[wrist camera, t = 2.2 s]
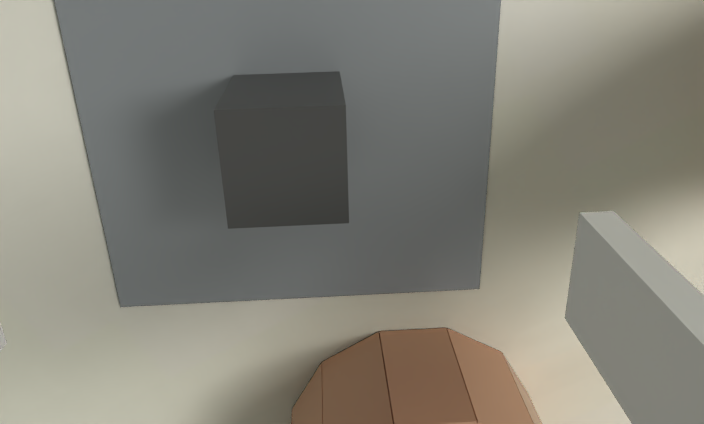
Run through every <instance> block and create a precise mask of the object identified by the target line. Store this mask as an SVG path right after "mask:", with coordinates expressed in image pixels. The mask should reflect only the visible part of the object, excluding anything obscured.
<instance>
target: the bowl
mask: <svg viewBox="0 0 704 424" xmlns="http://www.w3.org/2000/svg"><path fill="white" fill-rule="evenodd" d="M291 424H542V422H541V420H540V418H539V416H538V413H537V411H536V409H535V407H534V405H533V403H532V400H531V398H530V396H529V394H528V393H527V391H526V389H525V388H524V386H523V385H522V383H521V381H520V380H519V378H518V377H517V375H516V374H515V372H514V370H513V369H512V367H511V366H510V364H509V362H508V361H507V359H506V358H505V356H504V355H503V353H502V352H501V351H498V350H496V349H494V348H491V347H489V346H487V345H485V344H482V343H480V342H478V341H475V340H473V339H471V338H469V337H466V336H464V335H462V334H460V333H457V332H455V331H453V330H450V329H448V328H447V329H446V328H433V329H415V330H396V331H380V333H379V332H377V333H375V334H373V335H371V336H369V337H368V338H366V339H364V340H362V341H360V342H358V343H356V344H355V345H353V346H351V347H349V348H347V349H345V350H343V351H341V352H340V353H338V354H336V355H334V356H332V357H330V358H328V359H327V360H325V361H323V362H322V363H321V364H320V365H319V367H318V369H317V370H316V372H315V373H314V375H313V377H312V378H311V380H310V381H309V383H308V384H307V386H306V388H305V389H304V391H303V392H302V394H301V395H300V397H299V399H298V400H297V402H296V403H295V405H294V407H293V408H292V421H291Z"/></svg>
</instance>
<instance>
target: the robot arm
mask: <svg viewBox="0 0 704 424" xmlns="http://www.w3.org/2000/svg"><path fill="white" fill-rule="evenodd" d="M565 319H566V321H567V322H568V324H569V325H570V327H571V328H572V330H573V332H574V333H575V335H576V336H577V338H578V340H579V341H580V343H581V344H582V346H583V347H584V349H585V351H586V352H587V354H588V355H589V357H590V358H591V360H592V362H593V363H594V365H595V366H596V368H597V369H598V371H599V373H600V374H601V376H602V377H603V379H604V380H605V382H606V384H607V385H608V387H609V388H610V390H611V391H612V393H613V395H614V396H615V398H616V399H617V401H618V403H619V404H620V406H621V407H622V409H623V410H624V412H625V414H626V415H627V417H628V418H629V420H630V421H631V423H632V424H704V295H703V294H702V293H701V292H700V291H699V290H698V289H697V288H695V287H694V286H693V285H692V284H691V283H690V282H689V281H688V280H687V279H686V278H685V277H684V276H683V275H682V274H681V273H679V272H678V271H677V270H676V269H675V268H674V267H673V266H672V265H671V264H670V263H669V262H668V261H667V260H666V259H665V258H663V257H662V256H661V255H660V254H659V253H658V252H657V251H656V250H655V249H654V248H653V247H652V246H651V245H650V244H648V243H647V242H646V241H645V240H644V239H643V238H642V237H641V236H640V235H639V234H638V233H637V232H636V231H635V230H634V229H632V228H631V227H630V226H629V225H628V224H627V223H626V222H625V221H624V220H623V219H622V218H621V217H620V216H619V215H618V214H616V213H615V212H614V211H601V212H579V219H578V226H577V233H576V240H575V248H574V255H573V262H572V269H571V276H570V284H569V291H568V298H567V305H566V313H565ZM6 344H7V342H6V339H5V336H4V332H3V329H2V326H1V323H0V351H1V350H2V349H3V347H4V346H5V345H6Z"/></svg>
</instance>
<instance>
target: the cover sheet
mask: <svg viewBox="0 0 704 424" xmlns="http://www.w3.org/2000/svg"><path fill="white" fill-rule="evenodd" d="M54 2H55V6H56V11H57V16H58V20H59V25H60V29H61V34H62V39H63V43H64V48H65V53H66V57H67V62H68V66H69V71H70V76H71V80H72V85H73V90H74V94H75V99H76V103H77V108H78V113H79V117H80V122H81V126H82V131H83V136H84V140H85V145H86V150H87V154H88V159H89V163H90V168H91V173H92V177H93V182H94V187H95V191H96V196H97V200H98V205H99V210H100V214H101V219H102V224H103V228H104V233H105V237H106V242H107V247H108V251H109V256H110V260H111V265H112V270H113V274H114V279H115V284H116V288H117V293H118V297H119V302H120V307H131V306H150V305H170V304H190V303H210V302H230V301H250V300H270V299H289V298H309V297H329V296H349V295H369V294H389V293H409V292H428V291H448V290H468V289H479V287H480V274H481V261H482V247H483V234H484V220H485V207H486V194H487V180H488V167H489V153H490V140H491V127H492V113H493V100H494V86H495V73H496V60H497V46H498V33H499V19H500V6H501V0H54Z"/></svg>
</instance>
